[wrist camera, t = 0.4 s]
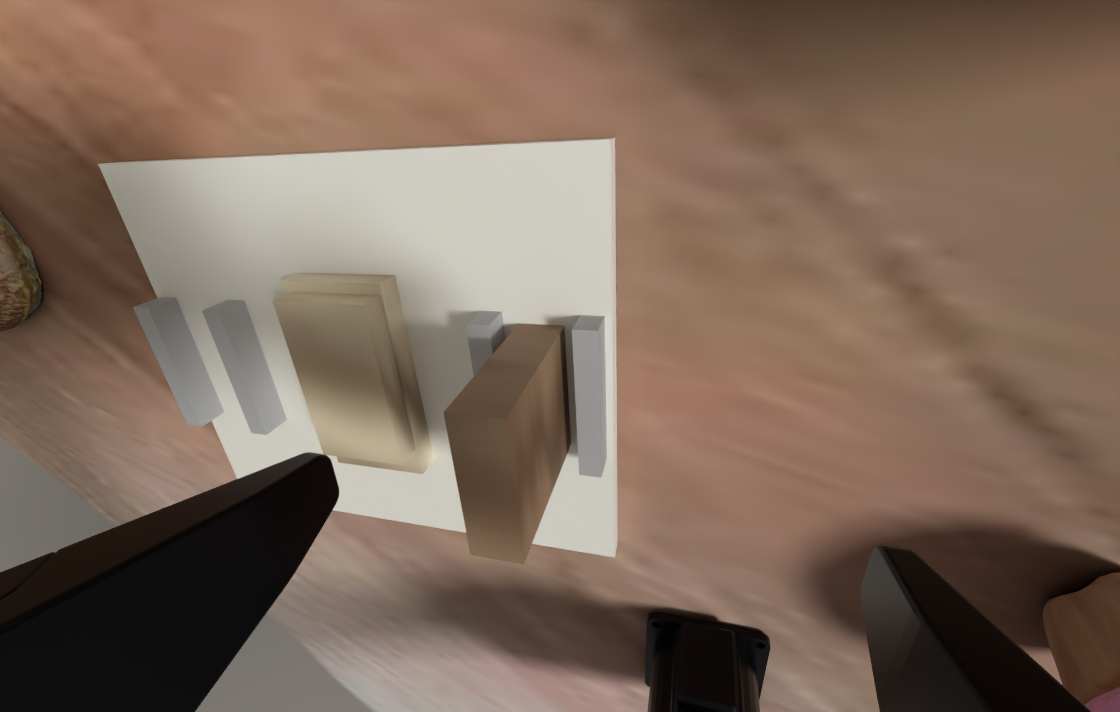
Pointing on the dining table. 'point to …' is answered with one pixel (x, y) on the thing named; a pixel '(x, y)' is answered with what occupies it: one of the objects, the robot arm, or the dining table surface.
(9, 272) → the bread roll
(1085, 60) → the dining table surface
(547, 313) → the rack
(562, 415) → the walnut panel
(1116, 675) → the cupcake
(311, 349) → the offcut stack
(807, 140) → the dining table surface
